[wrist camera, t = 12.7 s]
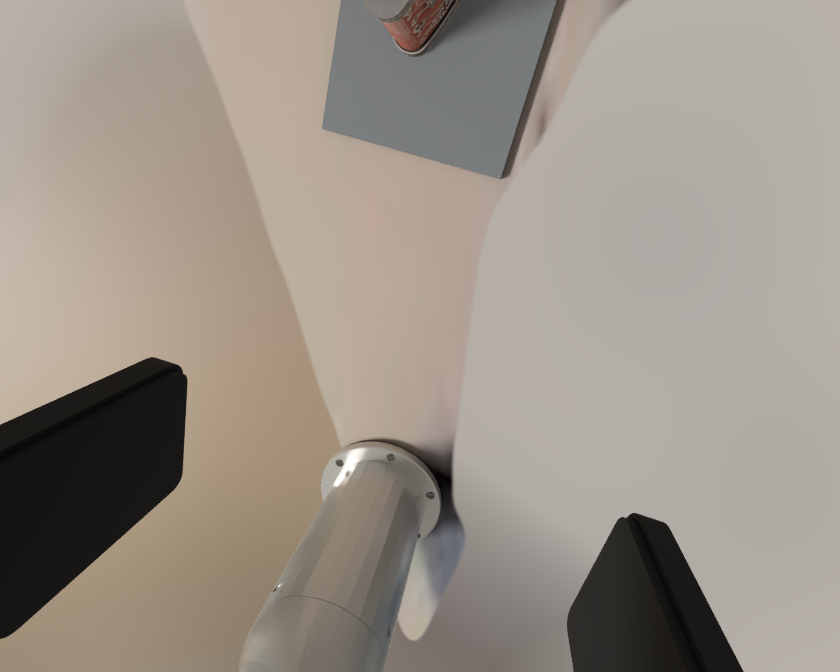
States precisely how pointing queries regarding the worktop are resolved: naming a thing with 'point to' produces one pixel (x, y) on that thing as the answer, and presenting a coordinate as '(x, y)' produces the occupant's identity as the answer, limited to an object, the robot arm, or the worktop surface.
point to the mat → (439, 82)
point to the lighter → (413, 21)
